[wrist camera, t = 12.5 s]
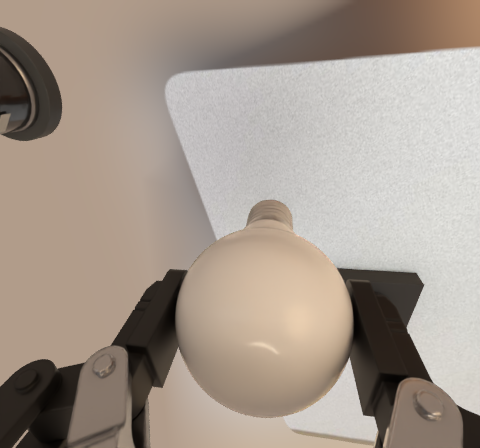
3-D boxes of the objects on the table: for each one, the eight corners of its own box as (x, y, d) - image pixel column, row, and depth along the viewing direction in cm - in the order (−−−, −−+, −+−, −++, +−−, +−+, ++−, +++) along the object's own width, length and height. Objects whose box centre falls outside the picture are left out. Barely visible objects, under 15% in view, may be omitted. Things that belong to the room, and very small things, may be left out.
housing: (312, 317, 39) (314, 340, 36) (319, 267, 34) (322, 288, 31) (396, 325, 38) (407, 350, 34) (416, 273, 33) (431, 296, 29)
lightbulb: (227, 253, 18) (169, 441, 9) (215, 167, 15) (108, 318, 6) (318, 255, 17) (361, 469, 8) (326, 163, 14) (411, 338, 5)
